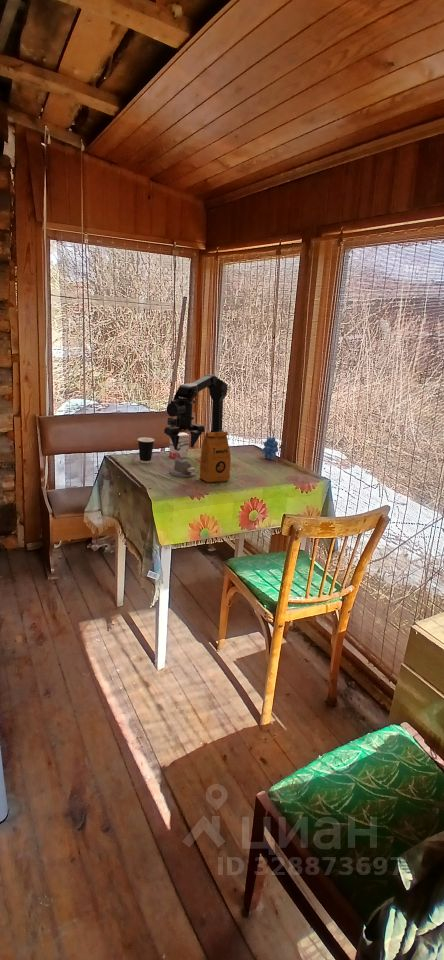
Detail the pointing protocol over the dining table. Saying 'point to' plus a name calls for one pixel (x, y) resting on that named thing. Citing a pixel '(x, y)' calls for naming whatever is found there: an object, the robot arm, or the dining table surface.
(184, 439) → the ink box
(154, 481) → the dining table surface
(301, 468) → the dining table surface
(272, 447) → the grapes
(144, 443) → the dixie cup
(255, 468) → the dining table surface
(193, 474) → the gray plate
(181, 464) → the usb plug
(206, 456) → the coffee package
